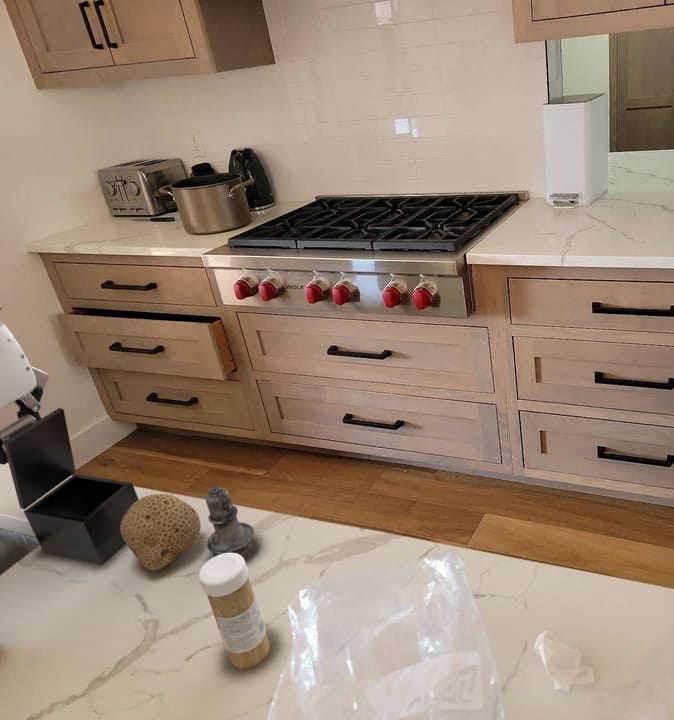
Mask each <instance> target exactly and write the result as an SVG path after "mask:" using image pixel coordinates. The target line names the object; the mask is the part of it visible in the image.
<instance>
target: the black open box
mask: <svg viewBox="0 0 674 720" xmlns="http://www.w3.org/2000/svg"><path fill="white" fill-rule="evenodd" d="M138 500H140V498H139V497H138V494H137V491H136V490H135V487H134V484H133V482H129V481H122V480H116V479H109V478H103V477H96V476H89V475H84V474H78V473H77V474H76V473H74V474H73V475H71V476H70V477H69V478H67V479H66V480H64V481H63V482H62V483H60V484H59V485H58V486H56V487H55V488H53V489H52V490H51V491H49V492H48V493H47V494H45V495H44V496H42V497H41V498H40V499H38V500H37V501H36V502H34V503H33V504H31V505H30V506H29V507H27V508H26V509H24V511H23V513H24V515H25V517H26V519H27V521H28V523H29V526H30V527H31V529H32V532H33V534H34V536H35V538H36V540H37V542H38V543H39V546H40V547H41V549H42V552H43V554H47V555H52V556H55V557H56V556H57V557H61V558H65V559H70V560H74V561H75V560H76V561H79V562H85V563H89V564H94V565H99V566H103V565H105V564H106V563H107V562H108V561H109V560H110V559H112V557H113V556H115V555H116V554H117V553H118V552H119V551H120V550H122V548H123V547H124V546H126V545H127V544H126V542H125V541H124V539H123V538H122V535H121V531H120V525H121V522H122V519H123V517H124V515H125V514H126V512H127V511H128V509H129V508H130V507H131V506H132V505H133V504H134V503H135V502H136V501H138Z"/></svg>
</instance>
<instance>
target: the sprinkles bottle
mask: <svg viewBox="0 0 674 720" xmlns="http://www.w3.org/2000/svg"><path fill="white" fill-rule="evenodd" d="M249 577H250V576H249V568H248V566H247V564H246V561H245V558H244V556H241V555H239V554H236V553H224V554H220V555H218V556H215V555H214V557H211V558H210V559H208V560H207V561H206V562H205V563H204V564H203V565H202V566H201V568H200V570H199V572H198V581H199V583H200V586H201V588H202V591H203V592H204V594H205V595H206V596H207V599H208V601H209V605H210V608H211V611H212V614H213V616H214V619H215V623H216V625H217V630H218V633H219V634H220V637H221V640H222V643H223V645H224V648H225V649H226V651H227V655H228V657H229V660H230V663H231V665H233V666H234V667H236V668H238V669H249V668H253V667H255V666H257V665H258V664H259V663H261V662H262V661H263V660H264V659H265V658H266V657H267V656H268V654H269V652H270V649H271V644H270V640H269V637H268V634H267V629H266V625H265V621H264V619H263V615H262V613H261V609H260V607H259V603H258V601H257V598H256V594H255V592H254V590H253V586H252V584H251V580H250V579H249Z"/></svg>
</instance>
